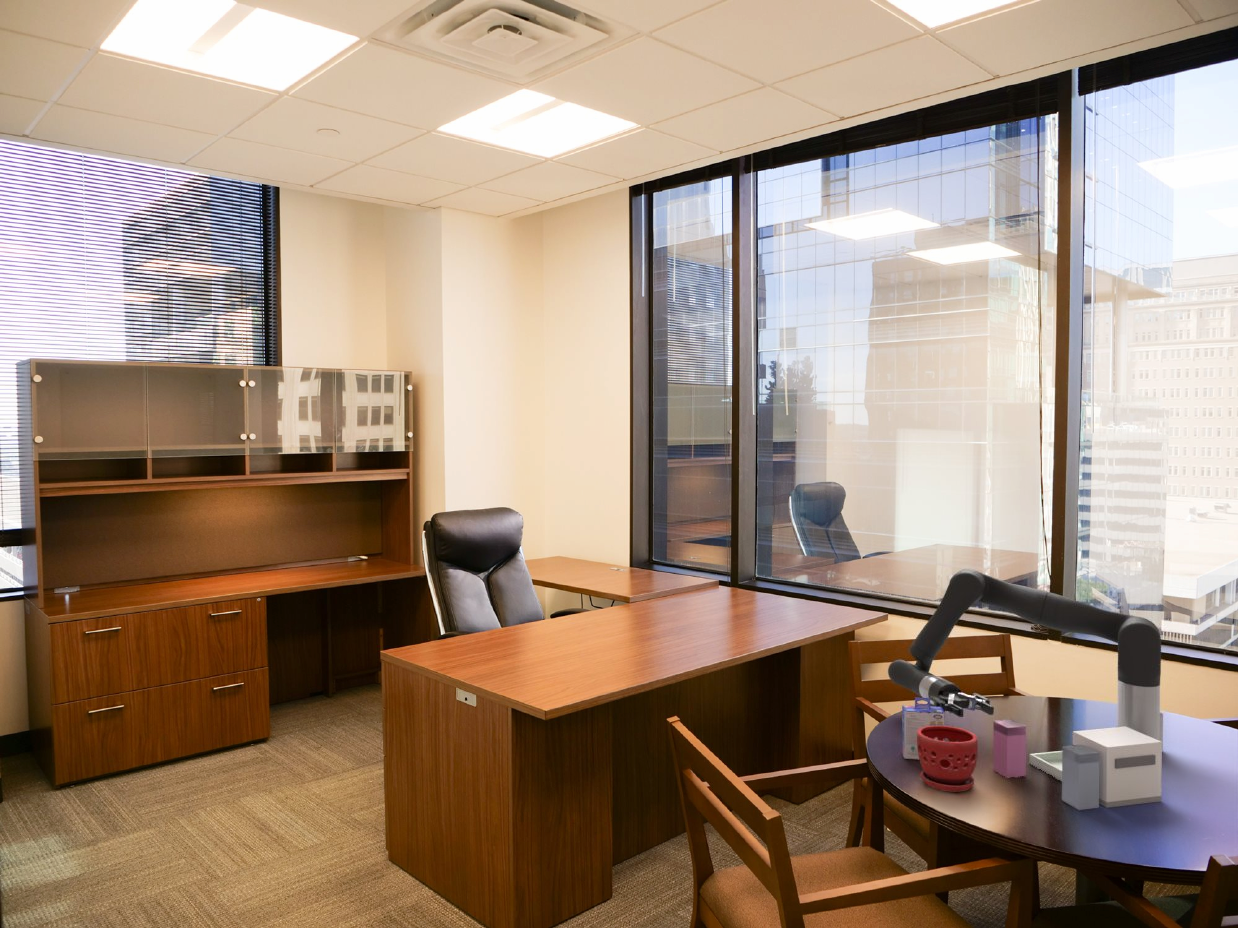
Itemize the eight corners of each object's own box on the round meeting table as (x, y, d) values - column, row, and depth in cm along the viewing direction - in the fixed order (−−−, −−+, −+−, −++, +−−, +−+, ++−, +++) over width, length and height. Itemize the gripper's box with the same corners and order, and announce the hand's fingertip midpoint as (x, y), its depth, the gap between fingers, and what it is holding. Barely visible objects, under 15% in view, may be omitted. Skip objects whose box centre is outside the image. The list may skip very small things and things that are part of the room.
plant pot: (990, 789, 190) (990, 737, 190) (945, 800, 185) (946, 746, 185) (947, 768, 202) (947, 719, 202) (904, 777, 197) (904, 727, 197)
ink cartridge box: (942, 753, 212) (942, 697, 212) (946, 762, 207) (946, 704, 206) (901, 751, 214) (901, 695, 214) (904, 759, 209) (904, 701, 208)
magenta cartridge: (1011, 767, 203) (1011, 719, 202) (1025, 776, 198) (1025, 725, 197) (993, 769, 202) (993, 720, 201) (1007, 778, 197) (1007, 727, 196)
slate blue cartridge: (1081, 797, 186) (1081, 744, 185) (1098, 807, 181) (1099, 752, 180) (1062, 799, 185) (1062, 746, 184) (1078, 809, 180) (1079, 754, 179)
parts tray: (1069, 759, 207) (1069, 749, 207) (1104, 777, 196) (1104, 767, 196) (1029, 763, 205) (1029, 753, 205) (1063, 782, 194) (1063, 771, 194)
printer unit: (1121, 781, 194) (1122, 725, 194) (1162, 801, 183) (1163, 742, 183) (1069, 787, 191) (1070, 729, 191) (1108, 808, 180) (1108, 747, 180)
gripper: (916, 680, 225) (952, 699, 209) (963, 677, 228) (1002, 695, 212) (915, 707, 225) (951, 728, 209) (962, 704, 228) (1002, 724, 212)
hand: (977, 712), depth 211 cm, fingers open, 8 cm apart
